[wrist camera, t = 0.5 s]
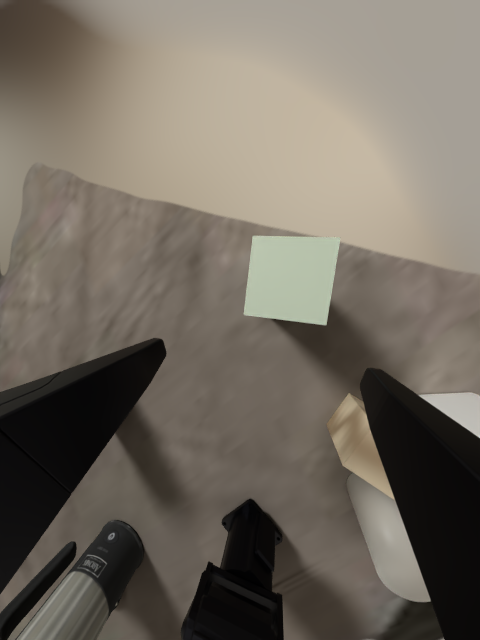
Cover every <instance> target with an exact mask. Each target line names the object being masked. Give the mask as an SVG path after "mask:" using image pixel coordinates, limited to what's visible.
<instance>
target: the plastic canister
mask: <svg viewBox="0 0 480 640" xmlns="http://www.w3.org/2000/svg"><path fill="white" fill-rule="evenodd" d="M346 488H347V491H348V494H349V497H350V500H351V502H352V505H353V508H354V511H355V513H356V516H357V519H358V522H359V524H360V527H361V530H362V533H363V535H364V538H365V541H366V544H367V546H368V549H369V552H370V555H371V557H372V560H373V563H374V566H375V568H376V571H377V574H378V576H379V578H380V579H381V581H382V582H383V583H384V585H385V586H386V587H387V588H388V589H390V590H391V591H392V592H394V593H395V594H397V595H398V596H400V597H402V598H405V599H408V600H411V601H416V602H429V601H431V600H430V597H429V594H428V591H427V589H426V586H425V583H424V580H423V577H422V575H421V572H420V569H419V566H418V563H417V560H416V558H415V555H414V552H413V549H412V546H411V544H410V541H409V538H408V535H407V532H406V530H405V527H404V524H403V521H402V518H401V515H400V513H399V510H398V507H397V504H396V501H395V500H394V499H392V498H391V497H389V496H388V495H386V494H385V493H383V492H382V491H380V490H379V489H377V488H376V487H374V486H373V485H371V484H370V483H368V482H367V481H365V480H364V479H362V478H361V477H359V476H358V475H356V474H355V473H351V474H350V475H349V477H348V479H347V481H346Z"/></svg>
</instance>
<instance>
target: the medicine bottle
mask: <svg viewBox="0 0 480 640" xmlns="http://www.w3.org/2000/svg"><path fill="white" fill-rule="evenodd" d="M419 396H420V397H421V398H423V399H424V400H426V401H427V402H429V403H430V404H432V405H433V406H434V407H436V408H437V409H439V410H440V411H442V412H443V413H445V414H446V415H447V416H449V417H450V418H452V419H453V420H455V421H456V422H457V423H459V424H460V425H462V426H463V427H465V428H466V429H468V430H469V431H470V432H472V433H473V434H475V435H476V436H478V437H479V438H480V396H479V395H477V394H475V393H471V392H465V393H444V394H422V395H419Z"/></svg>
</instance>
